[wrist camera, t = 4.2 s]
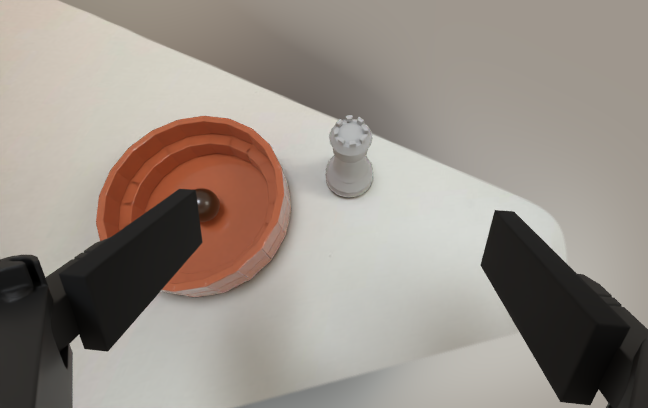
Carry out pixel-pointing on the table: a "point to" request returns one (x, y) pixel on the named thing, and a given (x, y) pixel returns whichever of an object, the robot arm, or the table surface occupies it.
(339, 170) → the rook chess piece
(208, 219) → the bead
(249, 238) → the bowl
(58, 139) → the table surface
